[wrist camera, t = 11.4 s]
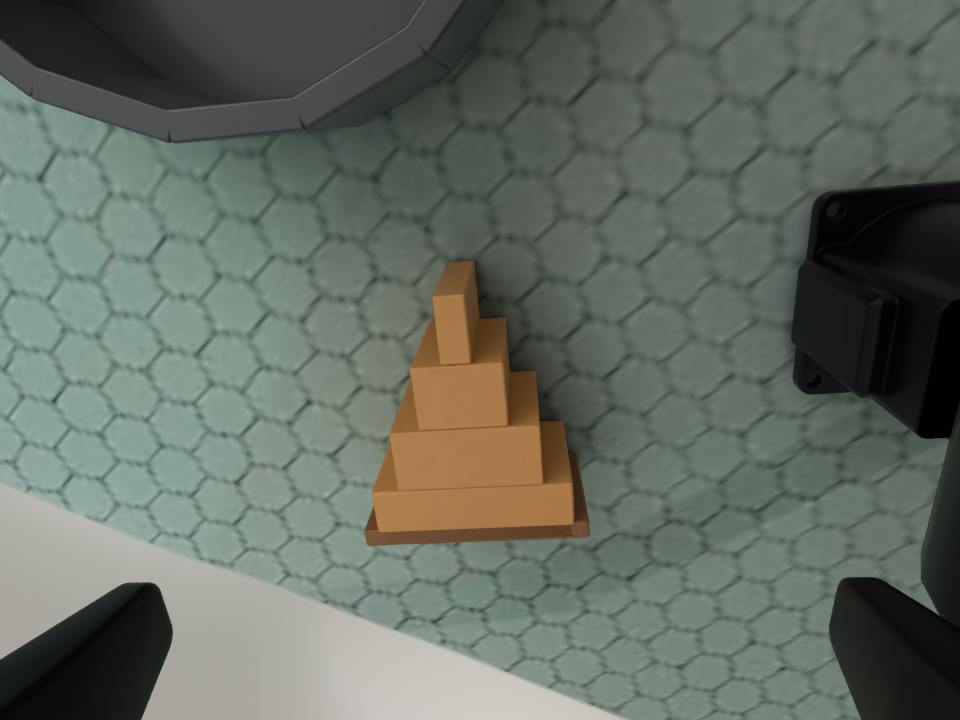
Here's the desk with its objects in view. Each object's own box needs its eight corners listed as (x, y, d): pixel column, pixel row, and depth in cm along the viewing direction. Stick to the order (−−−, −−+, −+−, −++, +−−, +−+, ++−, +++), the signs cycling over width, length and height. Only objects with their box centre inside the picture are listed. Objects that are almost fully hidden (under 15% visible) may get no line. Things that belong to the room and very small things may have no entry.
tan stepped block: (577, 467, 22) (589, 538, 18) (390, 475, 23) (366, 546, 19) (569, 252, 19) (582, 285, 15) (355, 269, 20) (318, 304, 16)
